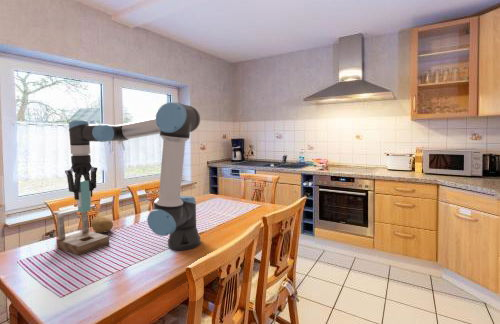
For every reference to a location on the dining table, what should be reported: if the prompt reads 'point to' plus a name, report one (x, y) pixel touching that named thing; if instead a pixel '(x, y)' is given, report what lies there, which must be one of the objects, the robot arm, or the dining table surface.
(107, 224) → the potato
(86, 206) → the peg
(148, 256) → the dining table surface
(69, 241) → the socket stand
